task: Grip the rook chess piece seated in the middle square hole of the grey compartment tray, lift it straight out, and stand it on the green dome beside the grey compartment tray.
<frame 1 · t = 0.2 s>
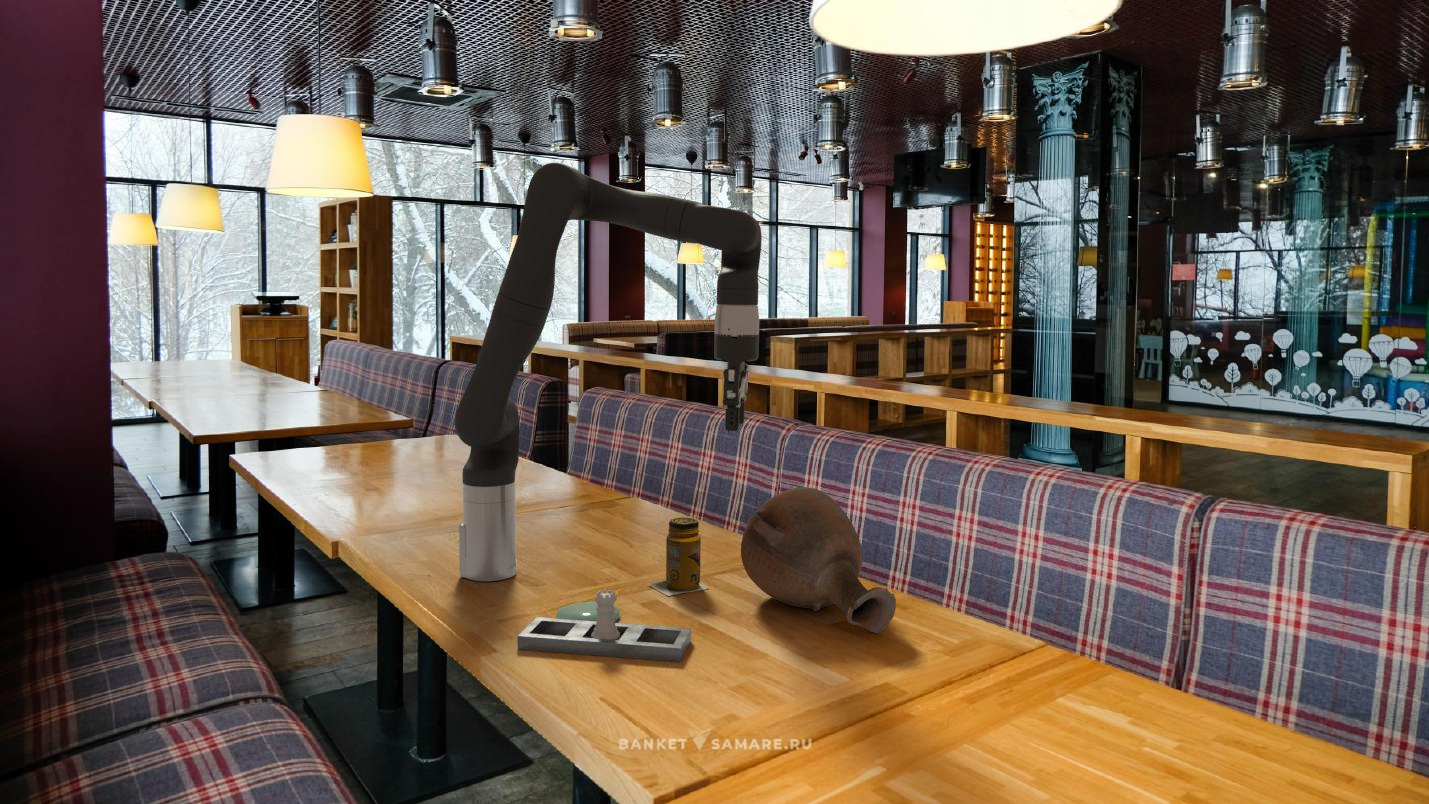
hand: (734, 426, 159), 29 cm above the table, fingers open, 8 cm apart
grey compartment tray: (605, 645, 136), on the table
rook chess piece: (605, 646, 137), resting in grey compartment tray
green dome: (588, 617, 148), on the table
condiment: (678, 588, 164), on the table
jug: (818, 613, 152), on the table
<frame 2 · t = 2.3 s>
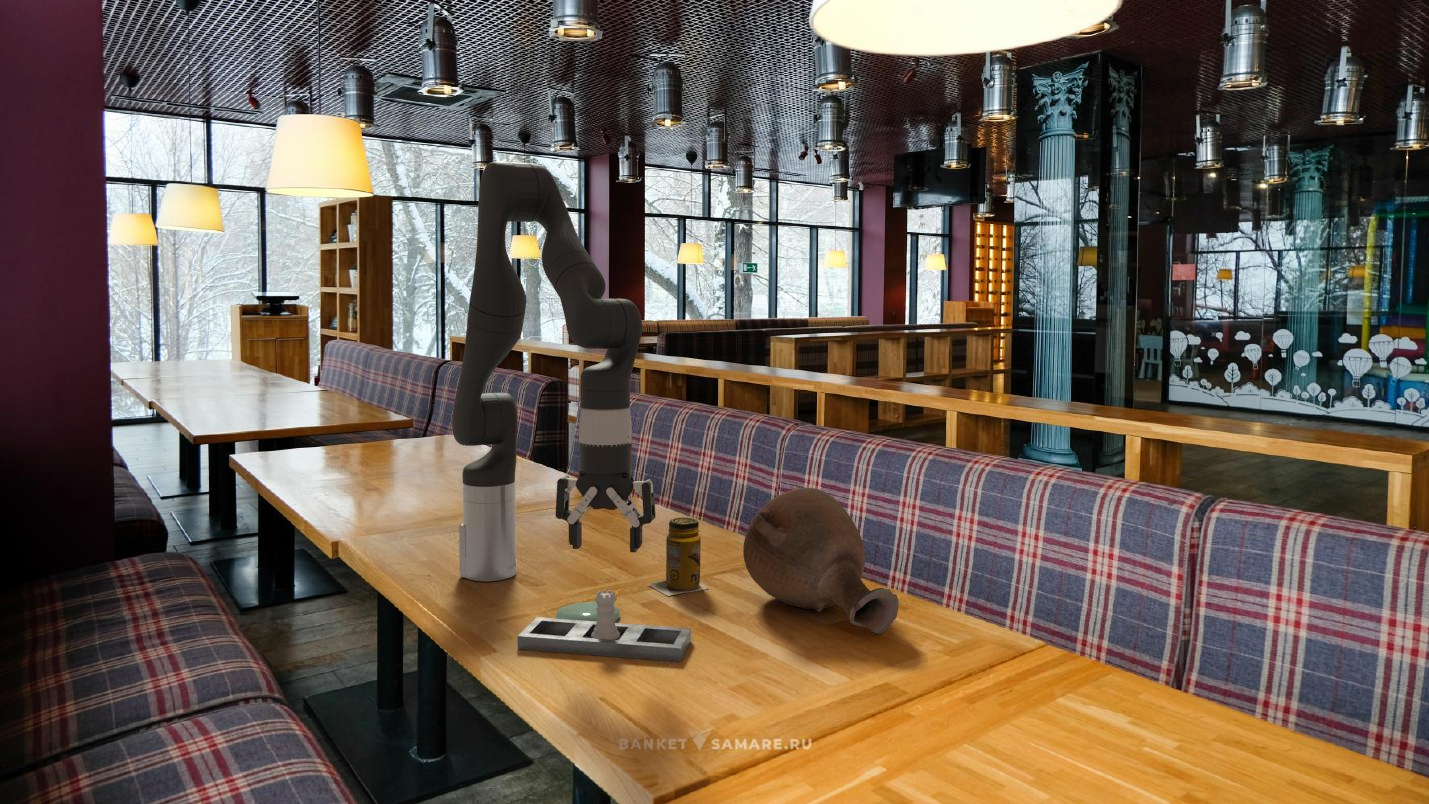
hand: (605, 549, 135), 14 cm above the table, fingers open, 8 cm apart
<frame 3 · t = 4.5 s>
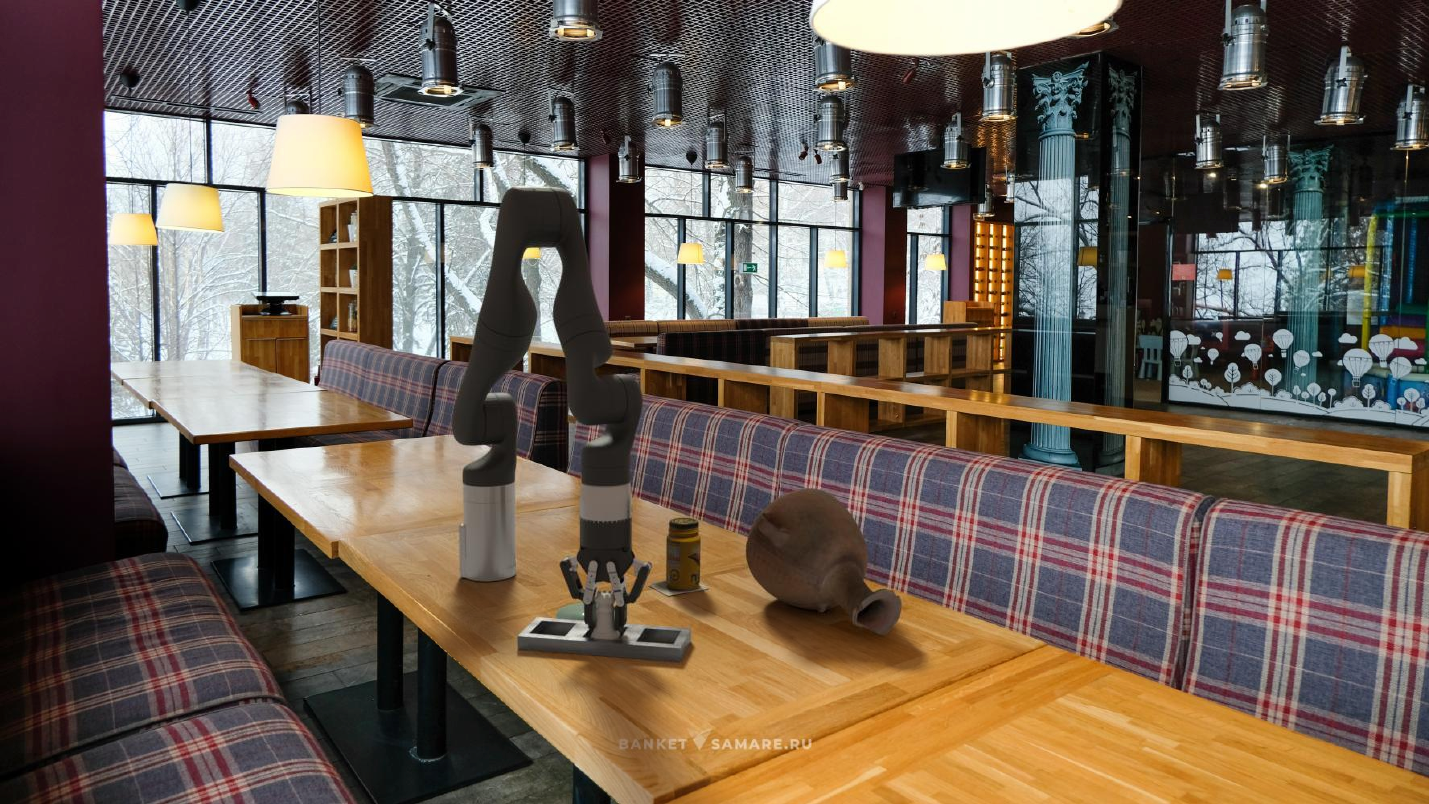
hand: (605, 627, 136), 3 cm above the table, fingers closed on rook chess piece, 3 cm apart
rook chess piece: (605, 646, 137), resting in grey compartment tray, touching gripper
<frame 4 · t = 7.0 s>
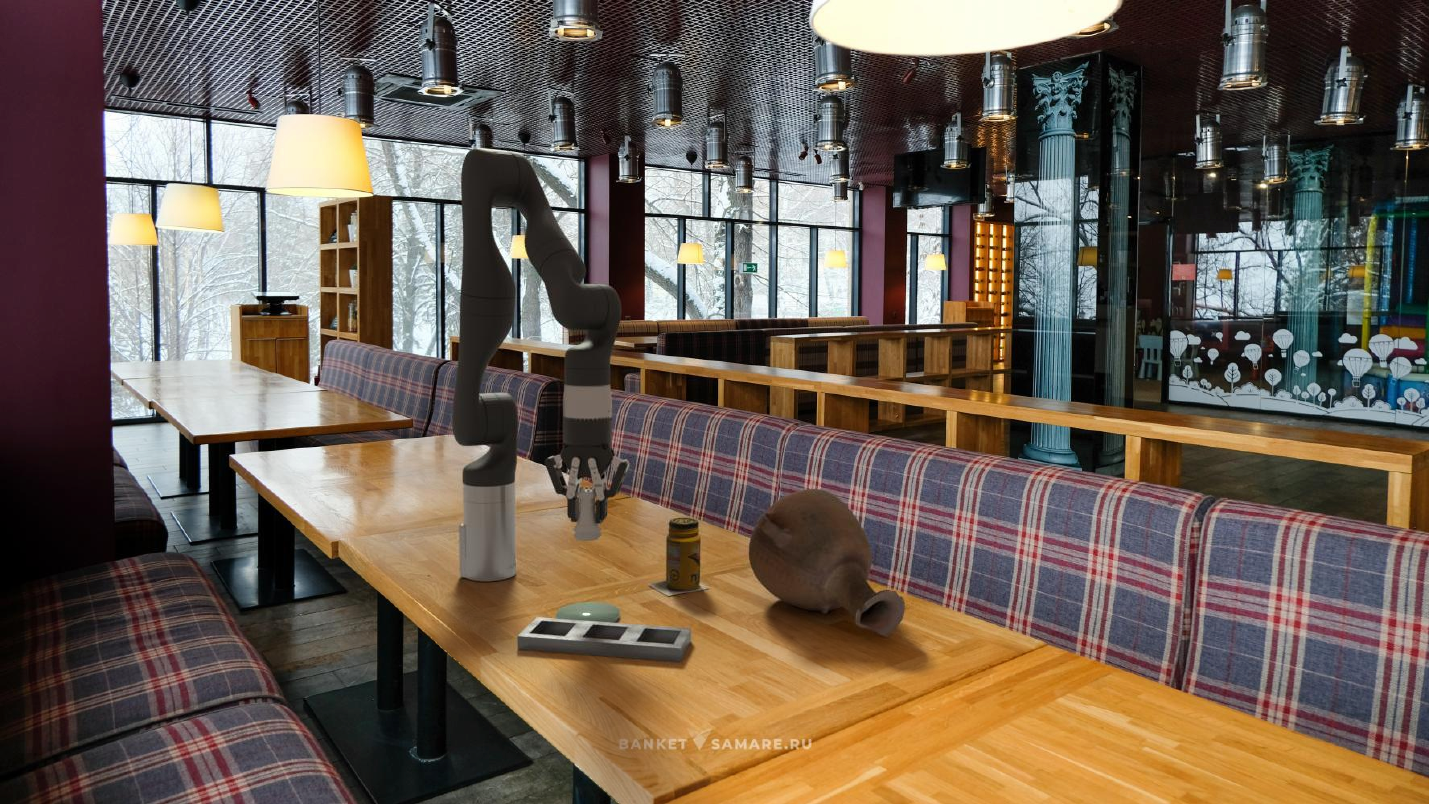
hand: (587, 521, 146), 16 cm above the table, fingers closed on rook chess piece, 3 cm apart
rook chess piece: (587, 539, 147), point 13 cm above the table, touching gripper
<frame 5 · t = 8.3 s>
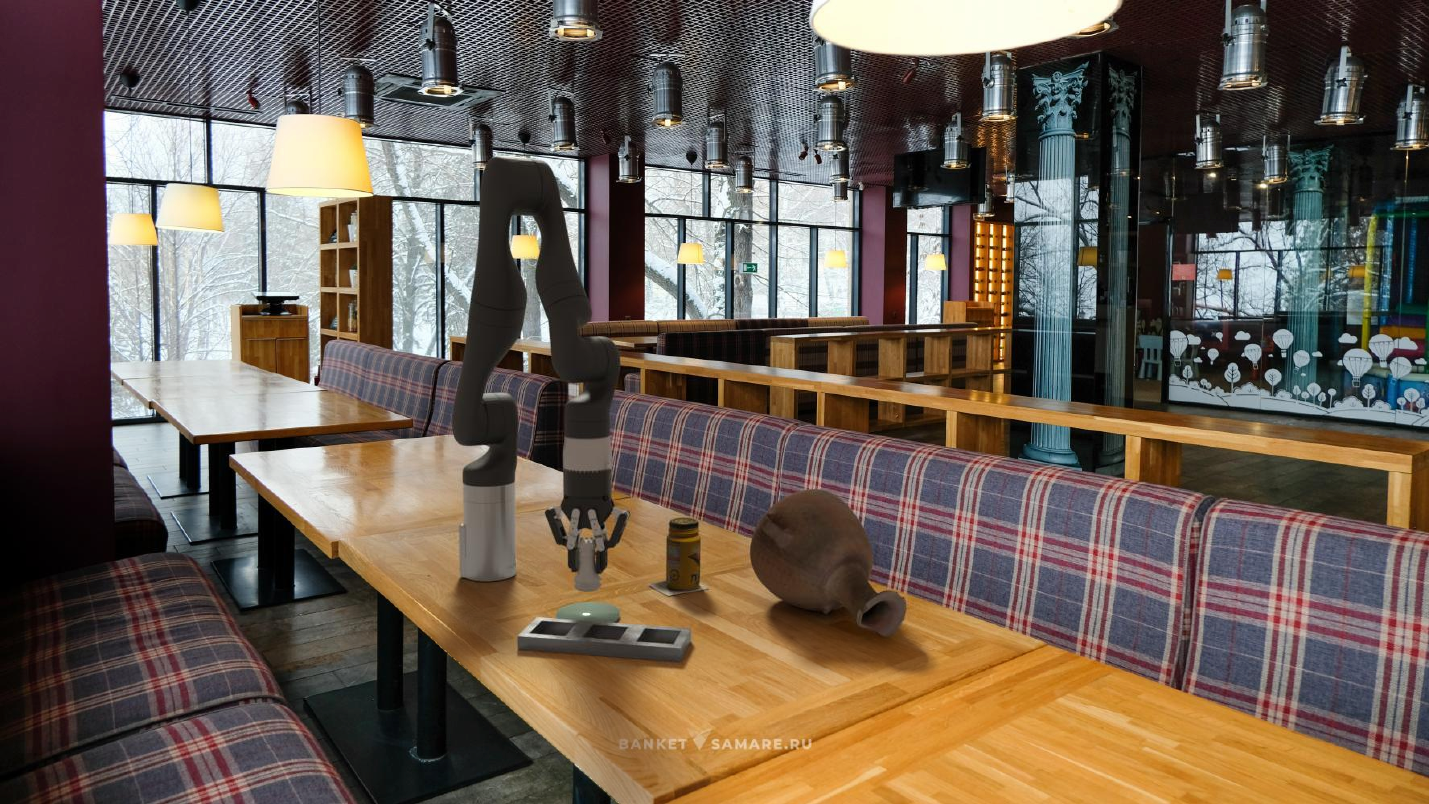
hand: (587, 571, 147), 8 cm above the table, fingers closed on rook chess piece, 3 cm apart
rook chess piece: (587, 589, 148), point 5 cm above the table, touching gripper
when the fingers open (5 cm above the table, at t = 9.6 s): rook chess piece drops 1 cm, resting on green dome.
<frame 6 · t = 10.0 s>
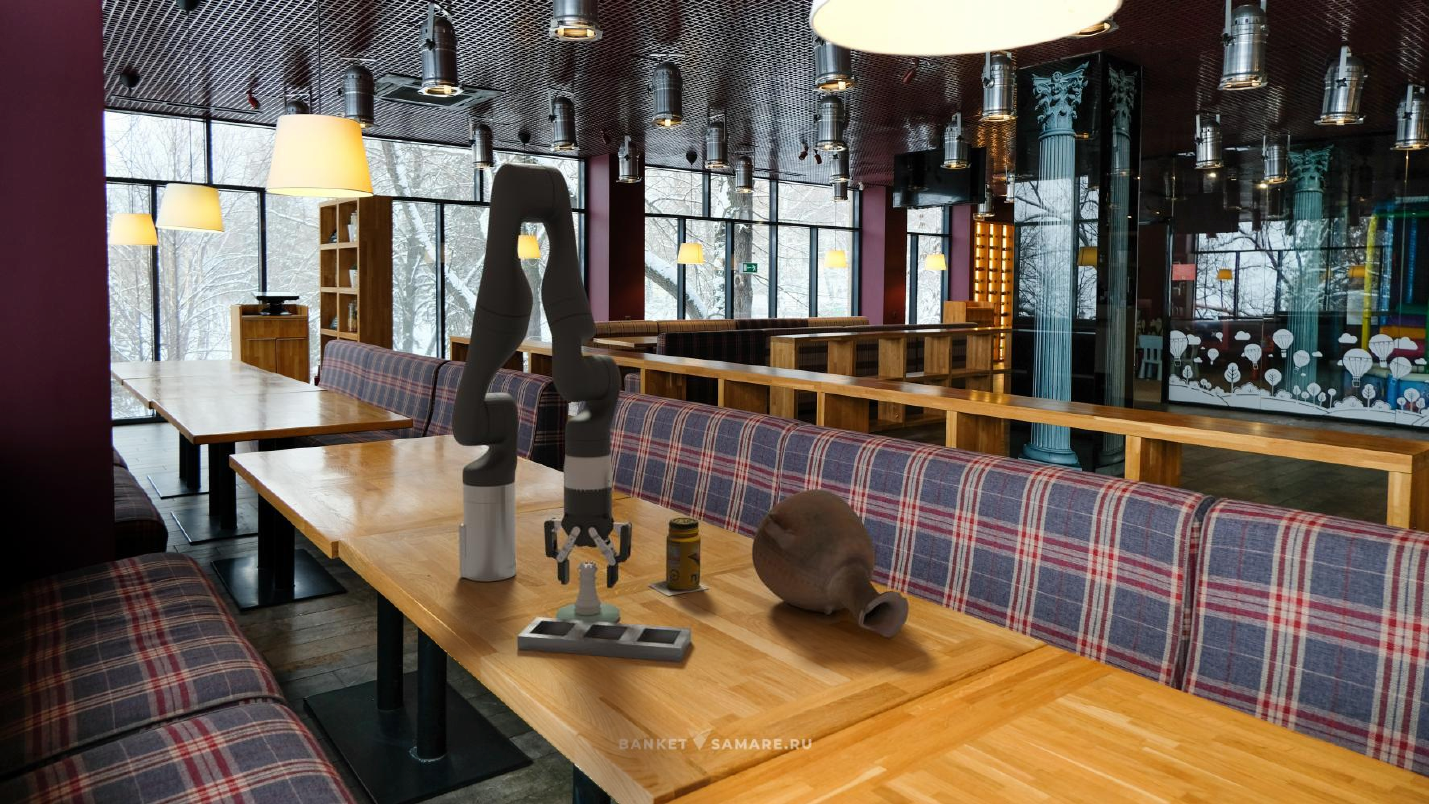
hand: (588, 584, 148), 5 cm above the table, fingers open, 7 cm apart
rook chess piece: (587, 613, 148), point 1 cm above the table, touching green dome
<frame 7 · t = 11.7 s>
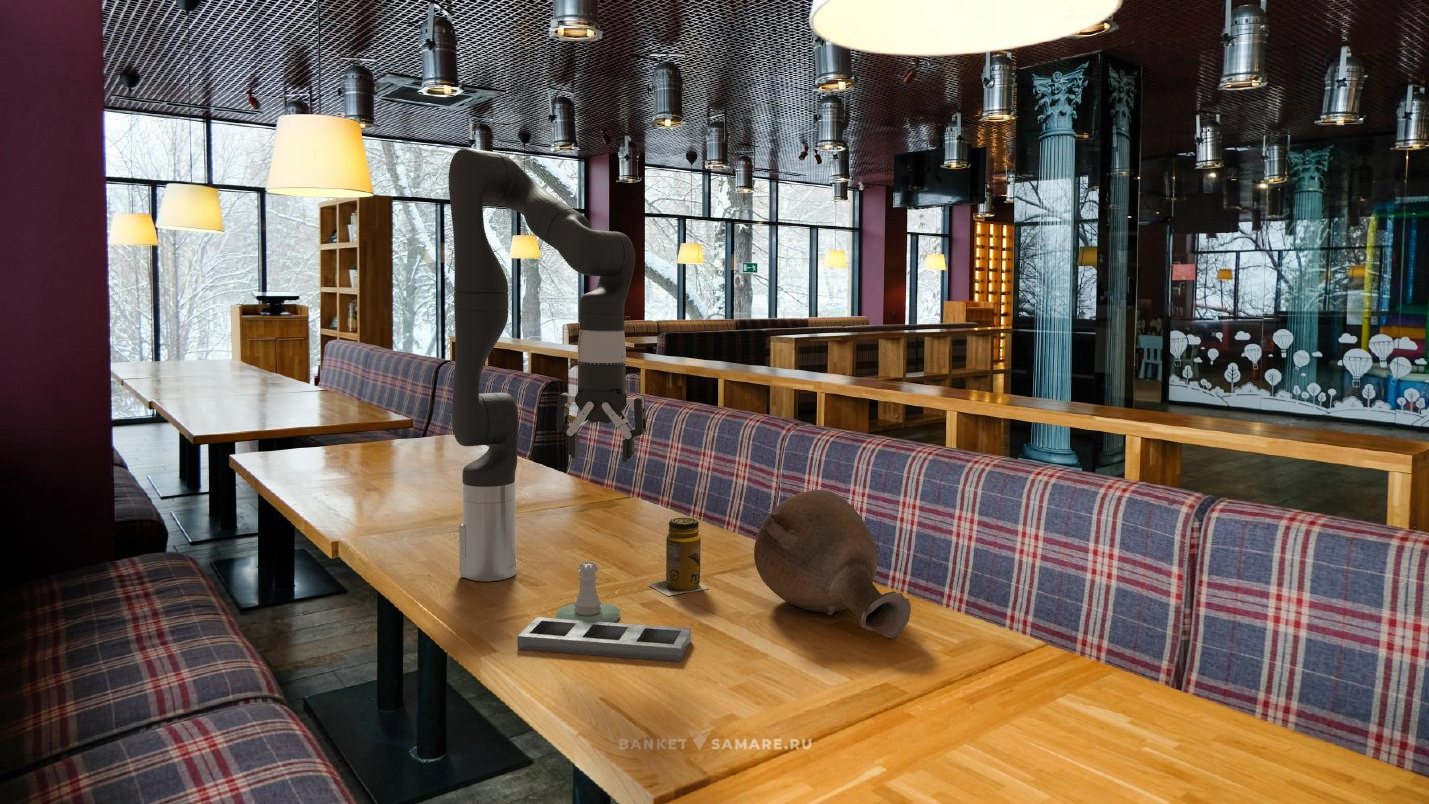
hand: (600, 459, 149), 25 cm above the table, fingers open, 8 cm apart
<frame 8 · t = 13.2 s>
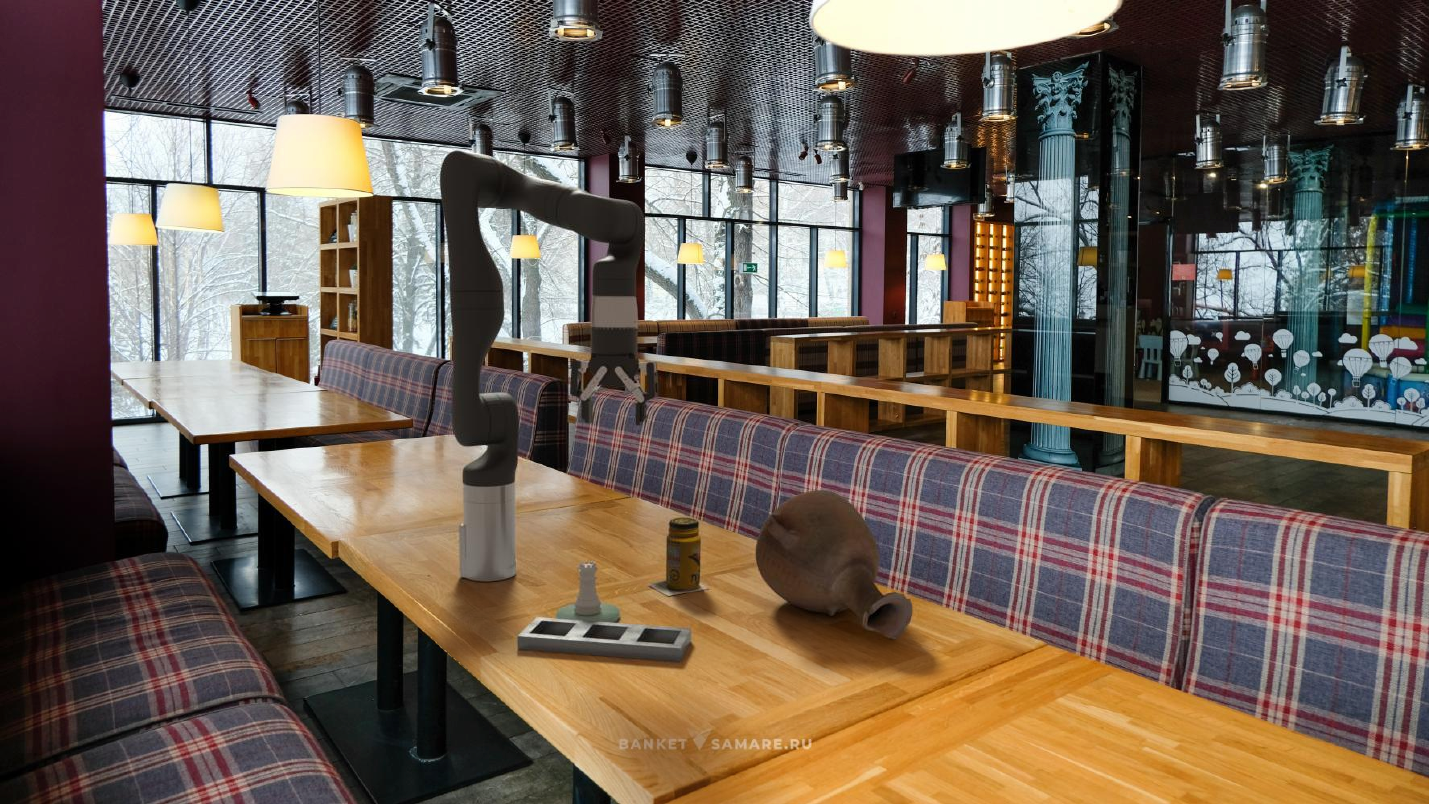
hand: (614, 423, 152), 30 cm above the table, fingers open, 8 cm apart
at the end: rook chess piece inside the target area on the green dome (0.1 cm from its centre), point 0.6 cm above the green dome's base; rook chess piece tilted 0°; the gripper is holding nothing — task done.
